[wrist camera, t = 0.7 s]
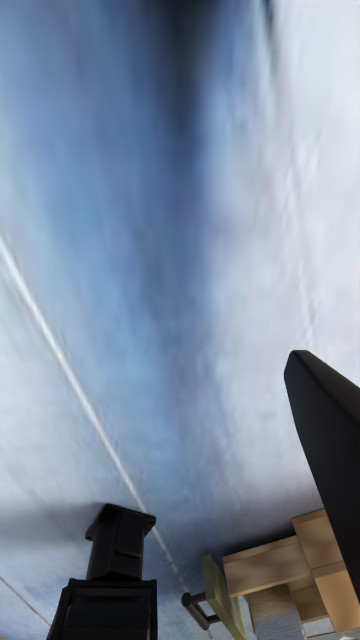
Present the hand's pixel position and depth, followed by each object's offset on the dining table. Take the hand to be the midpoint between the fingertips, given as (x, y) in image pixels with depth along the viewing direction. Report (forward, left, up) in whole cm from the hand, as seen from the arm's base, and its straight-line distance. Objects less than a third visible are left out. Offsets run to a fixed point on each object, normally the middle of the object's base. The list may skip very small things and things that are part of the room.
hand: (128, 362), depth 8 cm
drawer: (-31, -31, -14) cm, 46 cm away
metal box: (-30, -32, -13) cm, 45 cm away
